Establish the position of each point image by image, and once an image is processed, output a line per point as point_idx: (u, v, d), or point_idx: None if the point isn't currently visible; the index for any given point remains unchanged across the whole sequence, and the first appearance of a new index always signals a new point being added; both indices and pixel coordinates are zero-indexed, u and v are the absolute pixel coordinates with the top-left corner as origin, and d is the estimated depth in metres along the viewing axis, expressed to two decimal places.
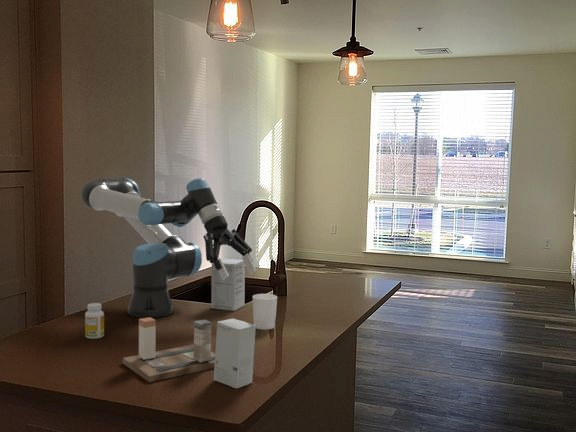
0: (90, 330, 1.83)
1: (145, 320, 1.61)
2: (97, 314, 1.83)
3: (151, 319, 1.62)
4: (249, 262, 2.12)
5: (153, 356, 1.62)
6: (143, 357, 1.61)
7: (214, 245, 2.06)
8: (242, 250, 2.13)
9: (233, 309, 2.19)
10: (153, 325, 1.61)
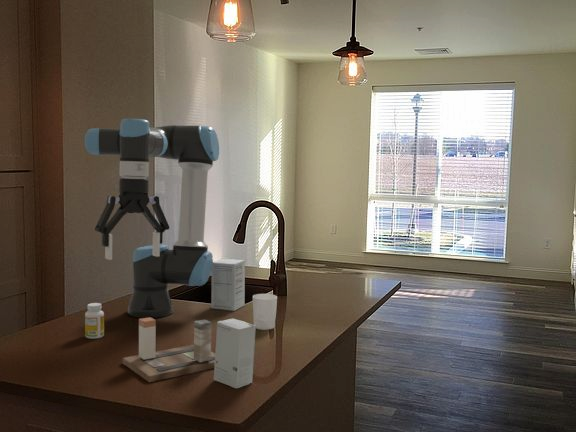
0: (90, 330, 1.83)
1: (145, 320, 1.61)
2: (97, 314, 1.83)
3: (151, 319, 1.62)
4: (156, 243, 1.69)
5: (153, 356, 1.62)
6: (143, 357, 1.61)
7: (117, 212, 1.63)
8: (154, 226, 1.69)
9: (233, 309, 2.19)
10: (153, 325, 1.61)
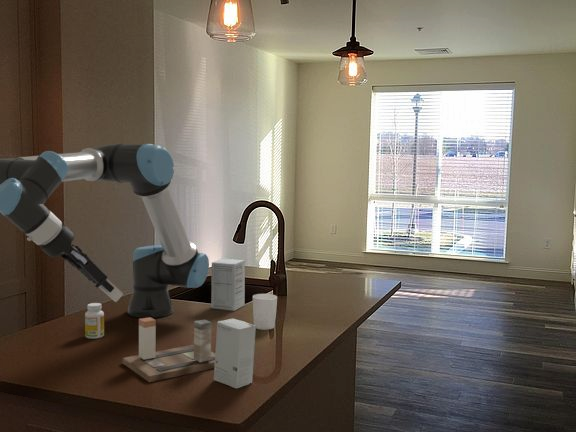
0: (90, 330, 1.83)
1: (145, 320, 1.61)
2: (97, 314, 1.83)
3: (151, 319, 1.62)
4: None
5: (153, 356, 1.62)
6: (143, 357, 1.61)
7: None
8: None
9: (233, 309, 2.19)
10: (153, 325, 1.61)
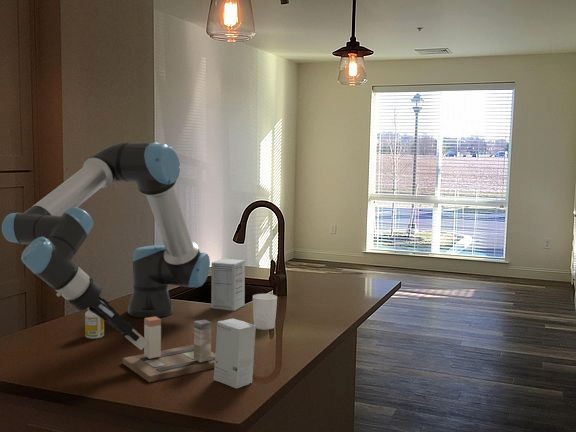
0: (90, 330, 1.83)
1: (150, 319, 1.62)
2: None
3: (156, 318, 1.63)
4: None
5: (158, 355, 1.63)
6: (148, 356, 1.62)
7: None
8: None
9: (233, 309, 2.19)
10: (158, 324, 1.62)
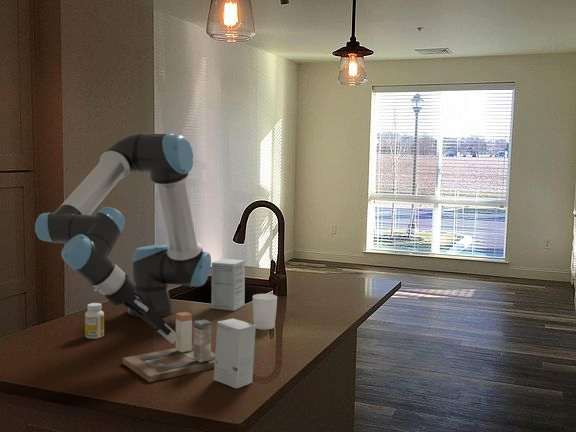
0: (90, 330, 1.83)
1: (182, 314, 1.67)
2: (97, 314, 1.83)
3: (188, 313, 1.68)
4: None
5: (189, 349, 1.69)
6: (180, 350, 1.67)
7: None
8: None
9: (233, 309, 2.19)
10: (190, 319, 1.68)
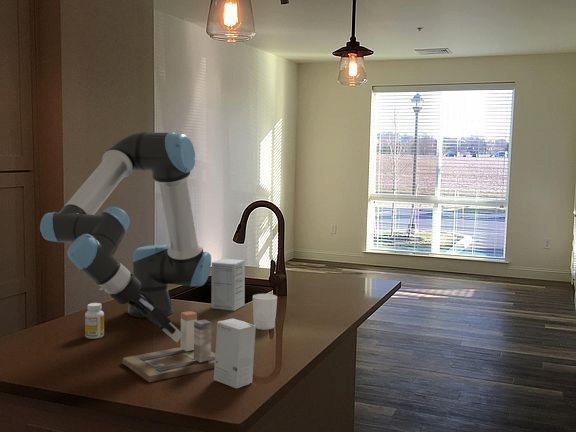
0: (90, 330, 1.83)
1: (187, 313, 1.68)
2: (97, 314, 1.83)
3: (193, 313, 1.69)
4: None
5: None
6: (185, 349, 1.68)
7: None
8: None
9: (233, 309, 2.19)
10: (195, 318, 1.69)
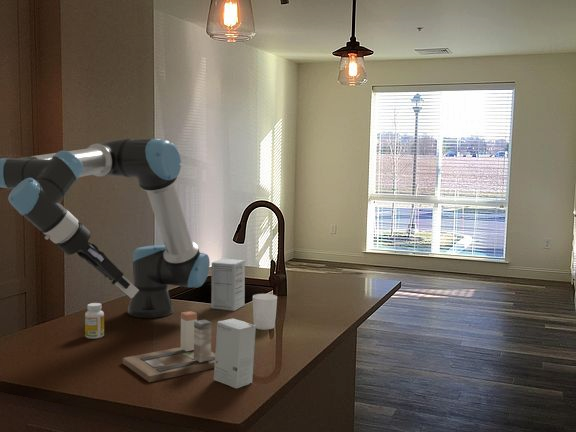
0: (90, 330, 1.83)
1: (187, 313, 1.68)
2: (97, 314, 1.83)
3: (193, 313, 1.69)
4: None
5: None
6: (185, 349, 1.68)
7: None
8: None
9: (233, 309, 2.19)
10: (195, 318, 1.69)
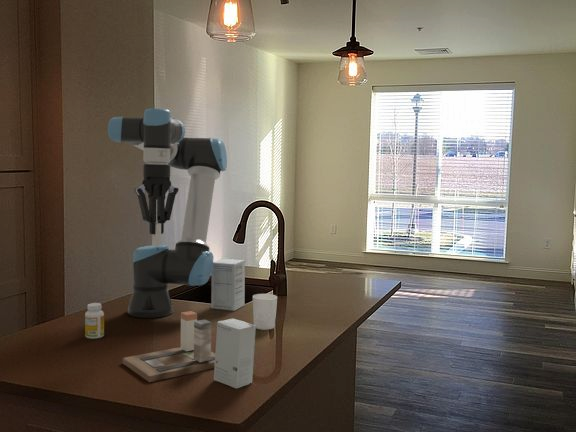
0: (90, 330, 1.83)
1: (187, 313, 1.68)
2: (97, 314, 1.83)
3: (193, 313, 1.69)
4: None
5: None
6: (185, 349, 1.68)
7: (149, 199, 1.78)
8: (159, 214, 1.79)
9: (233, 309, 2.19)
10: (195, 318, 1.69)
